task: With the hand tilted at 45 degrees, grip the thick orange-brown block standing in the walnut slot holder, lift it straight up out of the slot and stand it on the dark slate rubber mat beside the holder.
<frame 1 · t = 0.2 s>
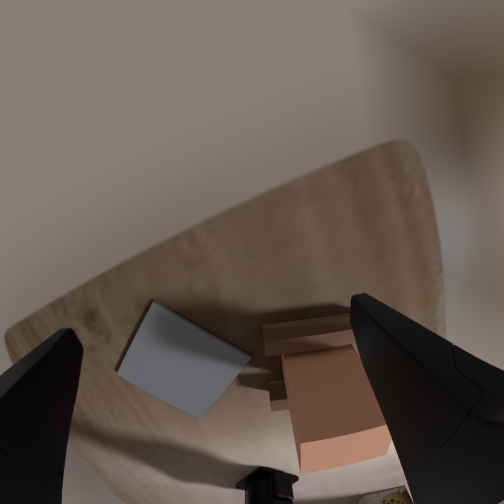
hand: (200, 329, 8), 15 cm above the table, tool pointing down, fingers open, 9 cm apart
slate mat: (178, 366, 26), on the table
coffee box: (378, 496, 35), on the table
slot holder: (313, 354, 26), on the table
thick orange-brown block: (313, 354, 26), on the table
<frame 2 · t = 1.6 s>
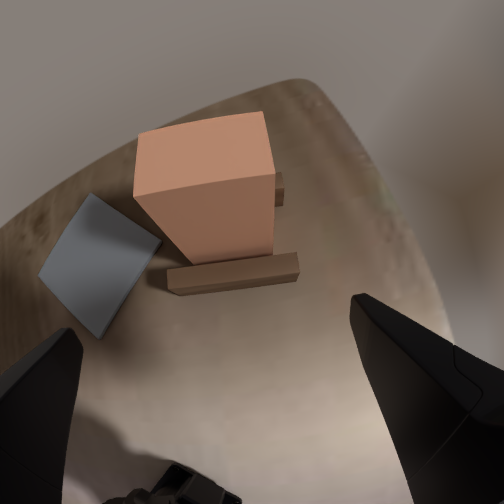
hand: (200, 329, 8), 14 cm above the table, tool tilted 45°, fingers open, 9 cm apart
slate mat: (92, 260, 24), on the table
slot holder: (231, 241, 23), on the table
thick orange-brown block: (231, 241, 23), on the table
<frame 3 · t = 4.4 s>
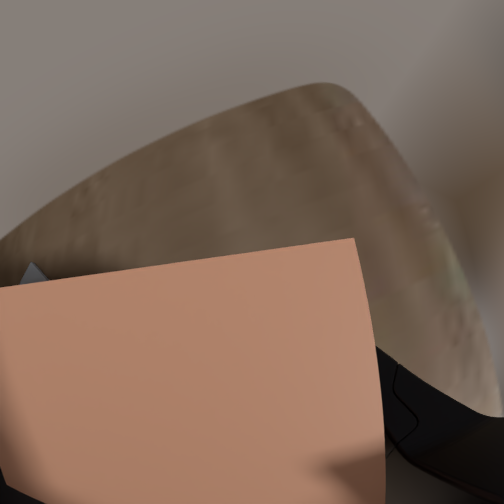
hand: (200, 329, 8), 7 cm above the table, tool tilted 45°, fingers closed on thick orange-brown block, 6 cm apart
slate mat: (41, 364, 14), on the table
thick orange-brown block: (232, 362, 14), on the table, touching gripper
when the fingers open (8 cm above the table, at t = 9.7 s): thick orange-brown block stays where it is, resting on slate mat.
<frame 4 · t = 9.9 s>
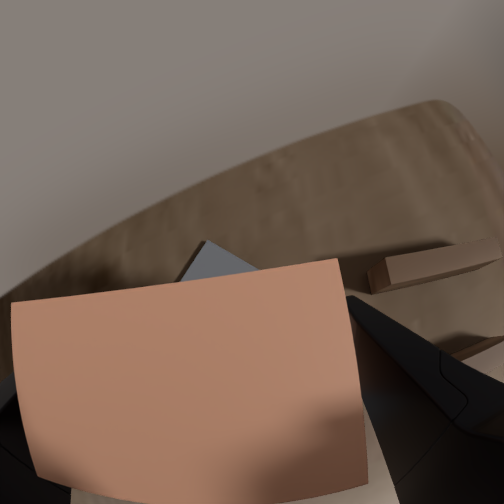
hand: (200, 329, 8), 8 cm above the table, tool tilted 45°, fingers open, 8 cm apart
slate mat: (235, 360, 15), on the table
slot holder: (439, 319, 15), on the table
thick orange-brown block: (235, 361, 15), resting on slate mat
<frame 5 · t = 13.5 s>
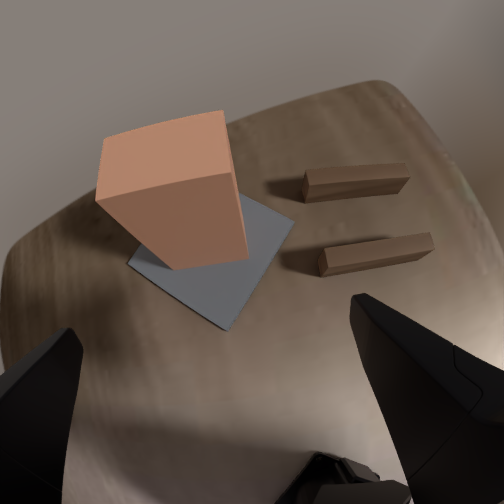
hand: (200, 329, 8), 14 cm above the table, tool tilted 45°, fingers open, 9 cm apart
slate mat: (208, 244, 24), on the table
slot holder: (362, 223, 23), on the table
thick orange-brown block: (208, 243, 23), resting on slate mat
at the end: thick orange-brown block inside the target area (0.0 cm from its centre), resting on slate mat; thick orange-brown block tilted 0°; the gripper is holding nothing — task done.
